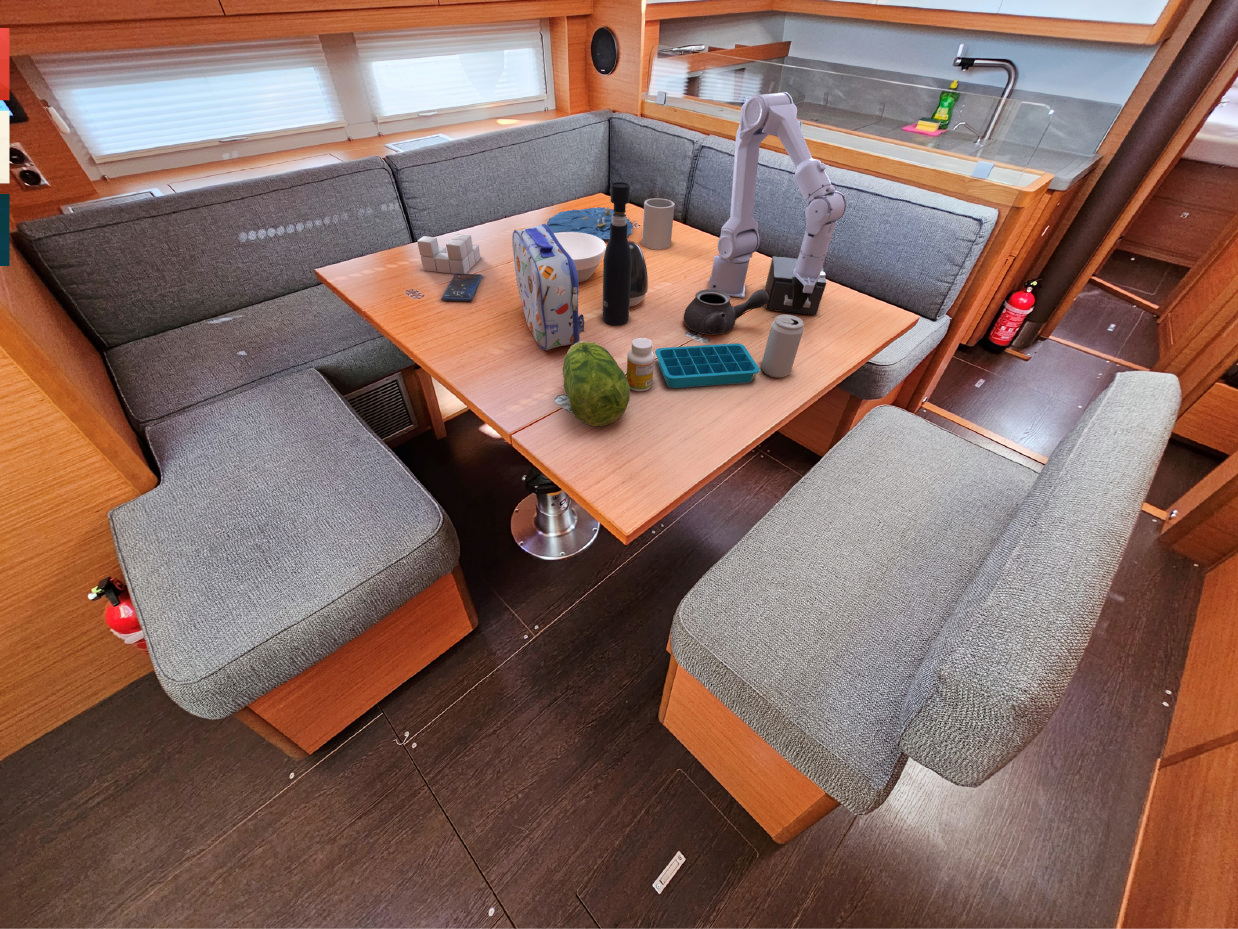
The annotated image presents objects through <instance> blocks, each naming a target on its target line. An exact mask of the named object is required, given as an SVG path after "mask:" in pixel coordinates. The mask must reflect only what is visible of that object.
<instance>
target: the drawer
mask: <svg viewBox="0 0 1238 929" xmlns="http://www.w3.org/2000/svg"><path fill="white" fill-rule="evenodd" d="M822 291H823V286H819V285H817V288H816V289H815V290H814V291H813V292H812V293H811V294H810V296H809V297H808V299H807V300H806V302H805V304H804V306H803V307H802V309H801V310H795V309H792V300H793V283H792V282H786V281H776V282H775V286H774V290H773V294H772V298H771V302H770V306H769V308H770V309H778V310H786V311H794V312H803V313H811V314H815V313H816V310H817V307H818V303H819V300H820V297H821V294H822Z"/></svg>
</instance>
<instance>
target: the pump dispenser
mask: <svg viewBox="0 0 1238 929" xmlns="http://www.w3.org/2000/svg"><path fill="white" fill-rule="evenodd" d="M628 243H629V246H630V251H631V258H632V268H631V286H630V304H629V307H633V306H634V307H635V306H637V305H639V304H640V303H641V302H642V301H643V300H644V299H645V297H646V294H647V293H648V290H649V277H648V276H649V275H648V267H647V263H646V259H645V255H644V253H643V251H642V249H641V246H640V245H639V244H638V243H636V242H635V241H632V240H628Z"/></svg>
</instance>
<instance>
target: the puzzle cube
mask: <svg viewBox="0 0 1238 929" xmlns="http://www.w3.org/2000/svg"><path fill="white" fill-rule="evenodd" d="M416 243H417V247H418V251H419V256H420V260H421V265H422V268H423V271H426V272H434V273H435V272H438V273H444V274H452V275H454V274H468V272H469V271H470V270H471V269H472V268H473V267H474V266H475V265H476V264H477V263H478V262H479V261H480V260H481V258H482V257H481V251H480V245H479V244H473V238H472V235H471V234H464V233H463V234H462V233H457V234H456V235H455V236H454V237H453V238H451V239H450V240H449V241H448V242H447V243H446V244H445V246H439V243H438V237H436V236H435V237H434V236H426V235H423V236H421V237H420V238H419V239H418V240H417V241H416Z"/></svg>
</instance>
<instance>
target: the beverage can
mask: <svg viewBox="0 0 1238 929" xmlns="http://www.w3.org/2000/svg"><path fill="white" fill-rule="evenodd" d="M804 323H805V322H804V321H803V319H801V318H800V317H798V316H796V315H793V314H787V313H786V314H779V315H777V316H776V317H775V318H774V320H773V321H772V322H771V324H770V325H771V326H770V329H769V333H768V337H767V341H766V345H765V347H764V348H765V349H764V352H763V355H762V360H761V364H760V370H761V371H763V373H764V374H765V375H767V376H769V377H772V378H778V379H779V378H784V377H787V376H788V375H790V374H791V372H792V369H793V367H794V366H793V365H794V362H795V359H796V356H797V353H798V349H799V348H800V347H799V346H800V343H801V340H802V337H803V334H804V330H805V329H804Z"/></svg>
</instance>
